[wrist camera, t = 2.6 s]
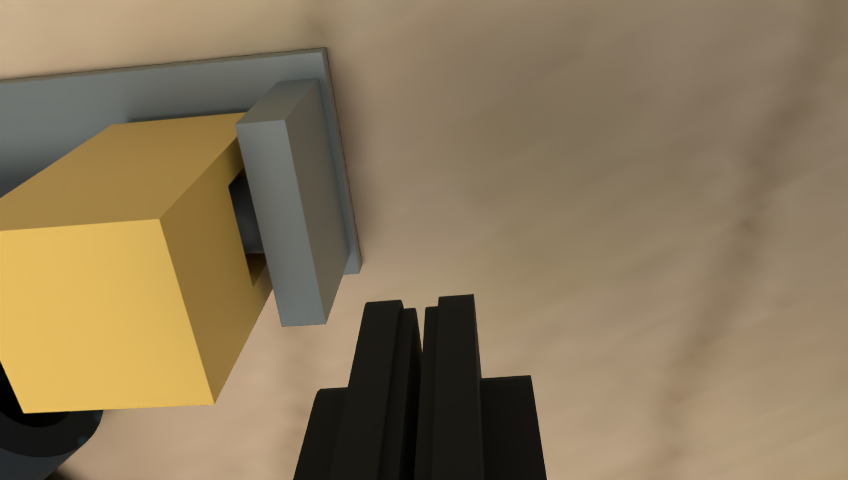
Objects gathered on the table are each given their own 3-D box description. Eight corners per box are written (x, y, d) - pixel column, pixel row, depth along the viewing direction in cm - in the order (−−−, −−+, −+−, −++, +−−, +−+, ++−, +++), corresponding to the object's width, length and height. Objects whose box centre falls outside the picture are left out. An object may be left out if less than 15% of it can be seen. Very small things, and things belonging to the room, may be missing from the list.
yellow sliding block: (261, 110, 20) (159, 219, 14) (291, 251, 22) (214, 404, 15) (111, 124, 20) (-56, 235, 14) (154, 260, 22) (23, 413, 16)
